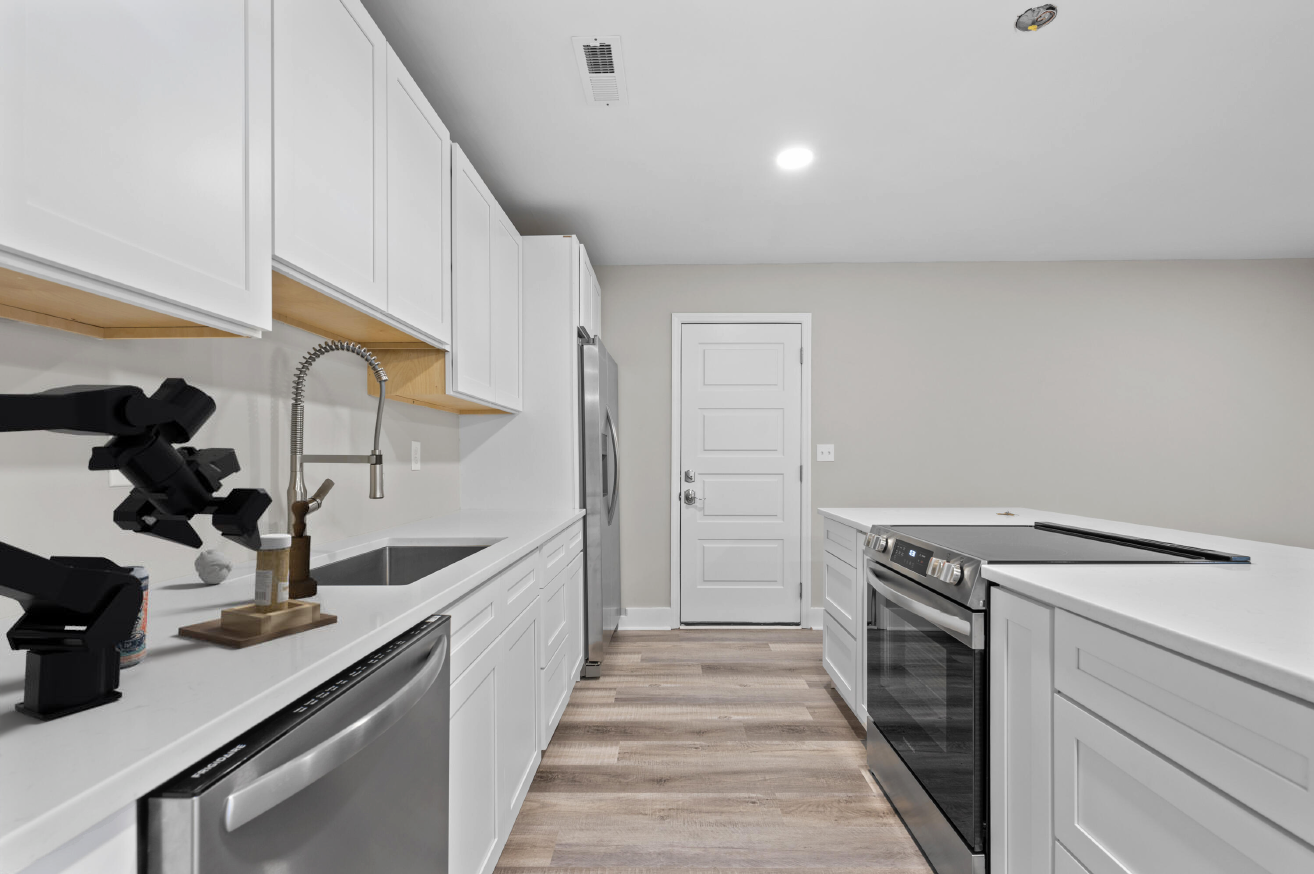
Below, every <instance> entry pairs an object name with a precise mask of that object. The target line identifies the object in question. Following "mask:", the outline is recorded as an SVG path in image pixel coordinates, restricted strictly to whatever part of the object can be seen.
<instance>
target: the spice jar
mask: <svg viewBox="0 0 1314 874" xmlns="http://www.w3.org/2000/svg"><path fill="white" fill-rule="evenodd" d="M291 536H292V535H291V534H288V533H268V534H262V535H261V534H260V538H261V543H262V546H261V548H260V549H259V550H258V551H256V568H255V575H254V576H255V580H254V581H255V582H254V603H255V613H261V614H268V613H273V612H277V611H281V610H286V609H288V593H289V550H290V548H289V547H290V546H291Z"/></svg>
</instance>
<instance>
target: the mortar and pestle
mask: <svg viewBox="0 0 1314 874" xmlns="http://www.w3.org/2000/svg"><path fill="white" fill-rule="evenodd" d="M290 510H291V512H292V515H293V516H294V519H295V520H294V523H293V524H292V530H293V534H294V535H291V546H290V547H289V548H290V550H289V593H288V599H294V600H299V599H306V598H310V597H313V596H315V595H317V594H318V581H317V580H315V579H314V577H310V576H311V575H310V574H311V545H312V544H311V542H312V541H311V540H312V536H311V535H308V534H307V535H306V534H304V533H305V532H306V528H307V523H305V517H306V515H307V514H308V512H309V511H310V503H308V501H307V500H304V499H302V500H301V499H300V500H295V501H294V502H293V503H292V504H291V506H290Z"/></svg>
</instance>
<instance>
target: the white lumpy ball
mask: <svg viewBox="0 0 1314 874" xmlns="http://www.w3.org/2000/svg"><path fill="white" fill-rule="evenodd" d="M232 568H233V563H232V561H231V559H230V557H229V556H227V554H225V553H222V552H221V550H219V549H215V548H212V549H207V550H205V551H200V554H199V555H198V556H197V557H196V559H195V560H194V569H195V571H196V572H197V573H198V577H199V578H200V580H201V581H202V582H203V583H205V584H207V585H218V584H220V583H223V582H224V581H225V580H227V578H228V577H229V574H230V572H232Z"/></svg>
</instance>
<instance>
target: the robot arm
mask: <svg viewBox="0 0 1314 874" xmlns="http://www.w3.org/2000/svg"><path fill="white" fill-rule="evenodd" d="M144 392H145V391H144V390H143V388H142V387H139V386H136V385H132V384H130V385H129V384H72V385H67V386H60V387H54V388H49V389H46V390H44V391H40V392H39V391H38V392H34V393H0V433H11V432H32V431H34V432H35V431H46V432H50V433H54V434H56V433H57V434H63V435H64V434H66V435H75V436H90V437H91V436H92V437H93V436H98V437H99V436H101V437H103V436H104V437H107V436H108V437H111V438H110V439H109V440H108V441H107V442H106V443H104V444H103V445H102V446H101V445H100V446H93V447H92V448H91V456H90V458H89V460H88V466H87V469H88V471H92V472H97V471H98V472H100V471H119V472H120V474H122V475H123V476H124V477H125V479H126V480H128V482H129V483H131V485H133V486H134V487H133V488H132V489H131V490H130V491H129V494H128V496H126V497H125V499H124V500H122V502H121V503H119V505H118V506H117V507H116V508H115V509H114V510H113V515H112V522H114V523H115V524H116V526H117V527H119V528H120V529H121V531H132V532H133V533H135V534H141V535H145V536H149V537H152V538H156V539H160V540H164V541H167V542H171V543H175V544H178V545H182V546H185V547H188V548H191V549H196V550H199V549H200V548H201V547H202V546H203V544H204V541H203V540H202V538H201V536H200V535H199V534H198V533H197V531H196V530H195V529H194V527H193V525H191V523H190V522H189V521H191V520H192V518H193V517H194V516H195V515H208V516H209V515H211V525H212V526H213V527H214V529H215V530H217V531H218V532H221V533H220V536H221V537H224V538H225V539H227V540H229V541H232V542H234V543H236V544H238V545H240V546H242V547H244V548H246V549H249V550H251V551H253V552H257V551H258V550H259V549H260V548H261V546H262V543H261V538H260V535H261V534H260V529H259V520H260V518H262V516H263V514H264V513H265V512H266V510H268V508H269V506H271V504H272V502H273V499H272V497H271V495H270V493H268V491H267V490H266V489H265V488H259V487H258V488H255V487H235V488H233V489H232V490H231V491H230V492H229V493H228V495H226V496H214V495H213V494H214V493H217V492H219V491H221V488H223V486H224V484H222V482H221V481H222V480H225V479H226V478H228V477H229V476H231V475H233V474H234V473H235V474H237V473H239V472H241V470H242V469H241V465H240V462H239V460H238V457H237V456H238V455H237V454H236V450H235V448H231V447H208V448H199V449H197V448H196V447H195V446H189V445H187V446H180V447H178V448H175V447H174V446H173V445H174V444H176V445H183V444H184V445H185V444H187V443H189V442H190V441H191V440H192V438H194V437H195V435H196V434H197V433H198V431H200V429H202V427H203V426H204V425H205V424H206V422H208V420H209V419H210V418H211V417H212V415H214V413H215V412H216V410H217V404H216V402H215V399H214V398H213V397H212V396H210V395H208V394H207V393H206V392H204V391H203V390H202V389H201V388H198V387H196V386H193V385H191V384H188V383H187V382H186V380H185V379H184V378H182V377H167V378H166V379H164V380H163V381H162V383H161V384H160V386H159V387H158V388H157V389H156V391H154V393H152V395H150V396H147V394H146V393H144ZM124 567H125V566H120V565H118V564H117V563H116V562H114V561H113V560H111V559H109V558H106V557H104V556H76V555H75V556H74V555H71V556H69V555H51V556H50V557H49V558H47V557H43V556H41V555H38V554H36V553H33V552H30V551H28V550H25V549H22V548H20V547H18V546H14V545H12V544H9V543H6V542H4V541H1V540H0V596H1V597H6V598H8V599H12V600H13V601H15V602H16V601H17V602H18V603H19V605H20V607H21V608H22V610H23V611H24V613H23V614H22V615H21V616H20V617H19V619H18V620H16V622H15V623H14V624H13V625H12V626H11V627H10V628H9V629H8V631H7V632H6V634H5V635H6V637H5V638H6V639H7V642H8V644H9V647H10V649H11V651H23V650H24V651H26V653H25V668H24V669H25V670H24V671H25V672H24V690H23V691H24V692H23V701H21V702H18V703H15V705H14V709H15V710H16V711H19V712H22V713H25V714H27V715H30V716H31V717H32V716H33V717H34V718H38V719H41V720H50V719H51V720H52V719H54V718H57V717H61V716H64V715H67V714H71V713H74V712H77V711H82V710H85V709H87V708H91V707H95V706H98V705H102V704H105V703H108V702H112V701H115V700H119V699H122V698H123V691H122V692H121V691H118V690H117V689H118V688H119V687H120V682H121V679H120V678H121V668H120V662H121V652H120V651H118V650H116V644H118V643H121V642H124V641H127V640H129V639H130V638H131V635H132V632H133V629H134V626H135V623H136V620H137V617H138V614H139V611H140V608H141V606H142V603H143V597H144V594H143V590H142V588H141V585H142V582H141V580H140V579H139V578H138V577H136V576H135V575H132V574H130V573H131V572H132V571H134V568H124ZM66 627H80V628H81V627H82V628H83V627H85V629H66Z"/></svg>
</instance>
